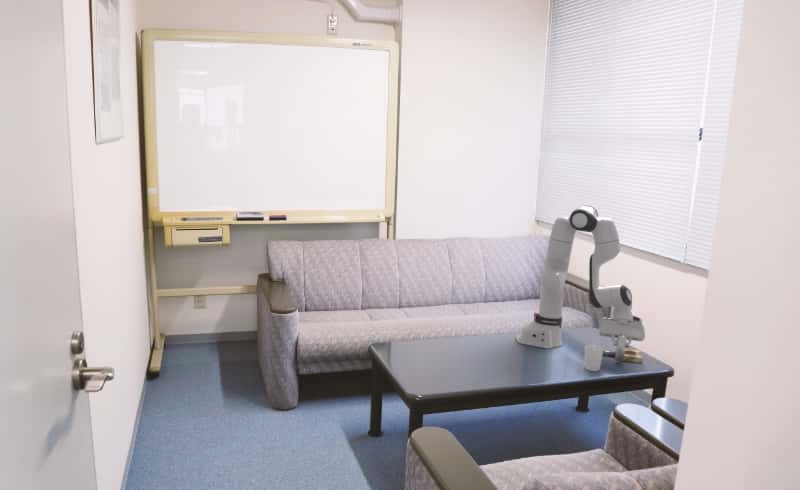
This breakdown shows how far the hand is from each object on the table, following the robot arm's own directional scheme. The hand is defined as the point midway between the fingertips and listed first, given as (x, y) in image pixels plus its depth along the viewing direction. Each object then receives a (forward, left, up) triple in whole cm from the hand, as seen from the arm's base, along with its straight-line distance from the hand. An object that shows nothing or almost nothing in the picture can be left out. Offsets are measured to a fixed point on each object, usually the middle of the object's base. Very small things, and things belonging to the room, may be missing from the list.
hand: (621, 346), depth 278 cm
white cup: (-13, -11, -9) cm, 19 cm away
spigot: (0, +1, -7) cm, 7 cm away
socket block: (+5, +10, -8) cm, 14 cm away
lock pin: (-5, +9, -6) cm, 12 cm away
